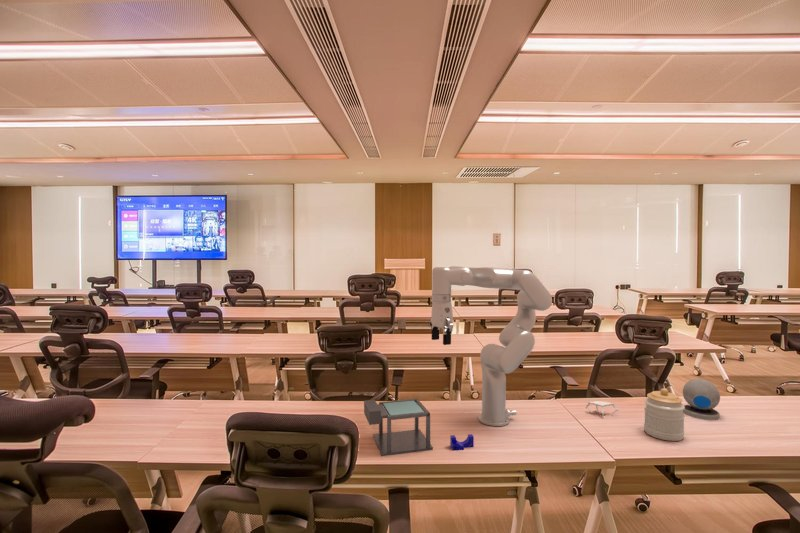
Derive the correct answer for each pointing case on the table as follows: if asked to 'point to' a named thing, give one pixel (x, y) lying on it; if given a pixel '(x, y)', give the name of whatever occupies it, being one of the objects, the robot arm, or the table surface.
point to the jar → (664, 415)
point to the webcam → (701, 399)
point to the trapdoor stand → (404, 434)
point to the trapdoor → (388, 410)
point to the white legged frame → (602, 404)
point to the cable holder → (461, 445)
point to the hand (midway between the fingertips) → (441, 342)
